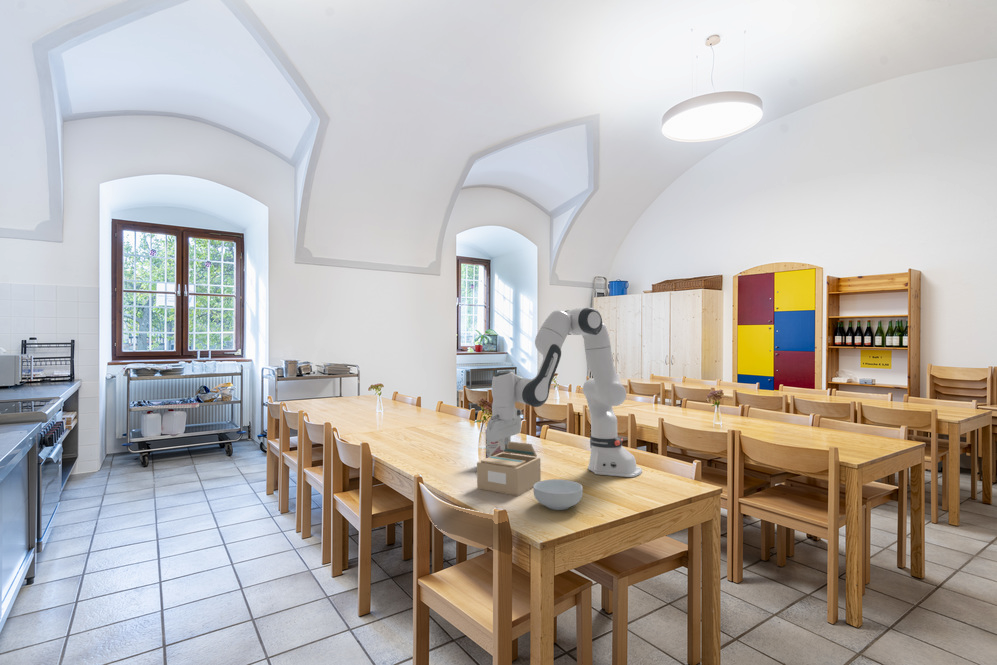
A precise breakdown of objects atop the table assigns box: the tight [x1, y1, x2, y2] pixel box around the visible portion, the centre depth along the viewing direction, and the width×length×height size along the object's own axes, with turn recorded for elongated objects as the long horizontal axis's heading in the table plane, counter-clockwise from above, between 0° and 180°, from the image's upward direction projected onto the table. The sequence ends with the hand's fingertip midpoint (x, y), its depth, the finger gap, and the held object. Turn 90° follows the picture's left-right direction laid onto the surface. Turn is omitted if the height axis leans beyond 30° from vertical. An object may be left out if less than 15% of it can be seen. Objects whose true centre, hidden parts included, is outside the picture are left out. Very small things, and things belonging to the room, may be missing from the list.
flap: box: [480, 456, 526, 467], centre depth 191 cm, size 15×8×1 cm, turn 58°
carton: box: [476, 452, 542, 497], centre depth 195 cm, size 18×18×10 cm
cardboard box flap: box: [498, 441, 538, 457], centre depth 200 cm, size 15×7×1 cm
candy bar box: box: [485, 428, 512, 459], centre depth 226 cm, size 11×5×16 cm, turn 84°
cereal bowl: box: [532, 478, 584, 511], centre depth 172 cm, size 17×17×7 cm
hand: (504, 449), depth 192 cm, fingers closed
